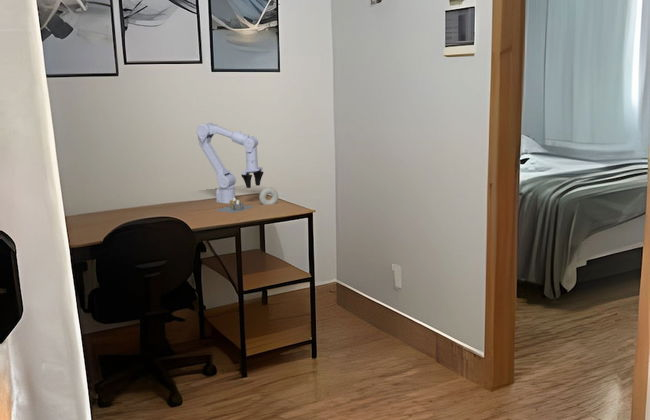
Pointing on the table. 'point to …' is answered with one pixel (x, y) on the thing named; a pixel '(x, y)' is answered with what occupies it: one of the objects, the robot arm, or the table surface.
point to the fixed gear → (237, 206)
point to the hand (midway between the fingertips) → (253, 186)
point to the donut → (265, 192)
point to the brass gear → (234, 202)
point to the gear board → (228, 209)
